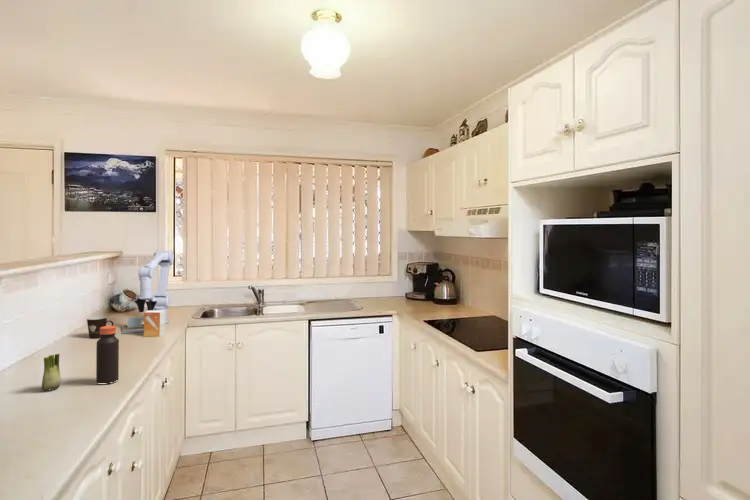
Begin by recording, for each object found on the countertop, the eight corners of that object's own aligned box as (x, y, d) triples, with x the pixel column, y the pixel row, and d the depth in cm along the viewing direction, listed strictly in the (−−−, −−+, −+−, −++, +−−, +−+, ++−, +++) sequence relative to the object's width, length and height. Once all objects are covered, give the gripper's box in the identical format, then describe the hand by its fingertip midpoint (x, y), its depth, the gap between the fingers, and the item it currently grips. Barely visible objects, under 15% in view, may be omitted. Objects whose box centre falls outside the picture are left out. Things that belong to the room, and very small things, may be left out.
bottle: (101, 386, 143) (102, 330, 142) (92, 382, 146) (92, 327, 146) (122, 381, 148) (122, 326, 148) (112, 377, 152) (113, 324, 151)
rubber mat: (122, 330, 224) (122, 329, 224) (145, 329, 229) (145, 328, 229) (121, 334, 217) (121, 333, 217) (145, 332, 222) (145, 331, 222)
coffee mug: (82, 338, 207) (82, 318, 206) (99, 334, 215) (99, 315, 214) (98, 340, 202) (98, 320, 202) (114, 337, 210) (114, 317, 210)
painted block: (127, 328, 231) (127, 317, 231) (141, 327, 234) (142, 316, 234) (127, 329, 228) (127, 318, 227) (141, 328, 231) (141, 318, 231)
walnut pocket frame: (122, 327, 232) (123, 325, 232) (147, 325, 238) (147, 323, 238) (121, 330, 224) (121, 328, 224) (146, 328, 230) (146, 326, 230)
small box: (143, 337, 212) (143, 312, 212) (148, 334, 218) (148, 310, 218) (159, 336, 213) (160, 312, 213) (164, 334, 219) (164, 310, 219)
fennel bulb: (58, 385, 143) (58, 351, 142) (64, 388, 140) (65, 354, 140) (38, 390, 138) (38, 355, 137) (44, 393, 135) (44, 358, 135)
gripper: (130, 288, 226) (130, 312, 227) (147, 290, 220) (147, 315, 220) (142, 287, 232) (142, 310, 233) (159, 289, 226) (159, 313, 227)
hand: (145, 312), depth 227 cm, fingers open, 7 cm apart
